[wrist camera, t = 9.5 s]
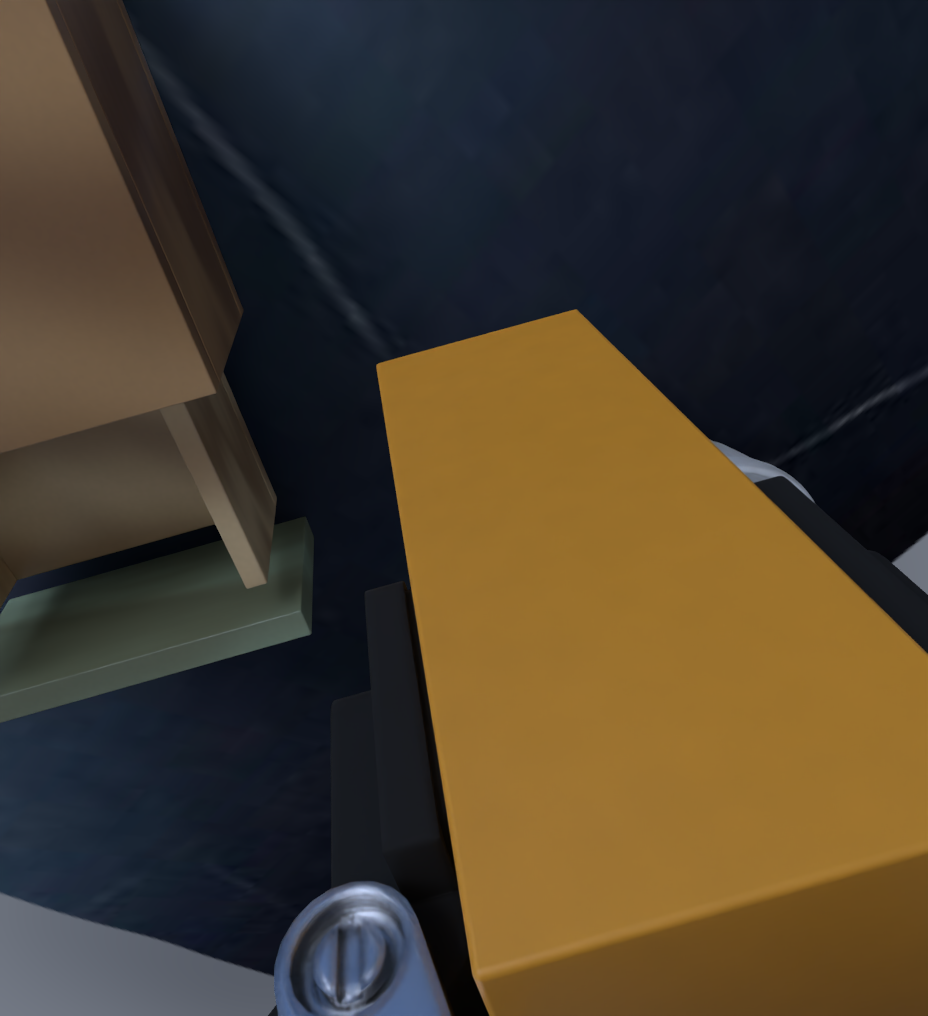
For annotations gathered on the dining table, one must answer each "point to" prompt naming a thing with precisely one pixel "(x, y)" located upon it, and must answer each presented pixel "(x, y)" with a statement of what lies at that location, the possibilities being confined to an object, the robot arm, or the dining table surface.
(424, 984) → the robot arm
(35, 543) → the drawer
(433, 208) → the dining table surface
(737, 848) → the block
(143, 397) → the cabinet
